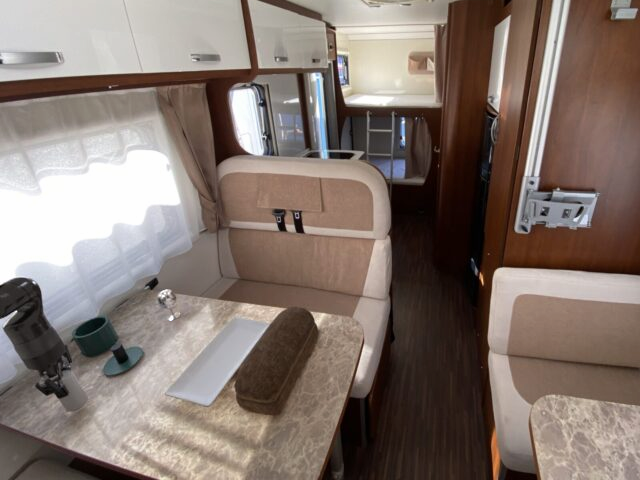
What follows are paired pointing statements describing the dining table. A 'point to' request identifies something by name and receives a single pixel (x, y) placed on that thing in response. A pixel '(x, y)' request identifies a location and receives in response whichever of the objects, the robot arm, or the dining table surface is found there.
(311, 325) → the bread
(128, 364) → the lid
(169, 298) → the wineglass
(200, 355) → the tray
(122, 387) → the dining table surface
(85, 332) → the pot
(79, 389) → the beverage can
